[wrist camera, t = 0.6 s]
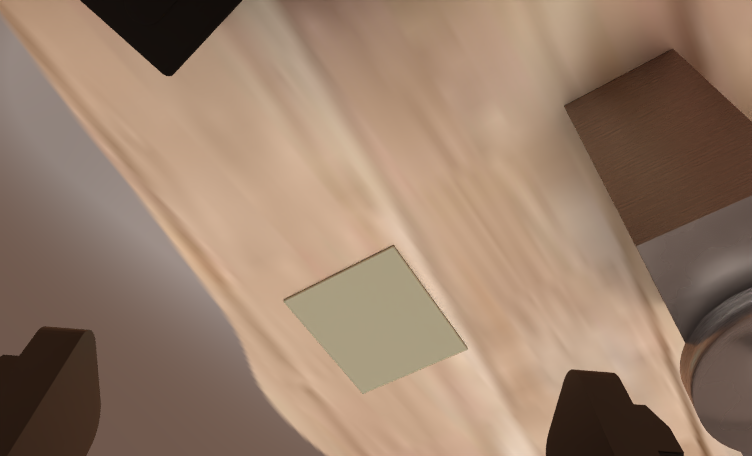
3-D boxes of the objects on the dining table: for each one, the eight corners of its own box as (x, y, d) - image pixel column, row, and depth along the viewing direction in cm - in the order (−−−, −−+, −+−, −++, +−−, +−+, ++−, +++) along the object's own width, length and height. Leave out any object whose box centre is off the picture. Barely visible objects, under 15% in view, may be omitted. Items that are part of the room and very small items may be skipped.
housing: (689, 40, 29) (863, 187, 18) (775, 258, 35) (948, 474, 23) (549, 113, 31) (628, 286, 20) (652, 309, 37) (758, 529, 25)
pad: (393, 245, 35) (393, 246, 35) (467, 347, 39) (467, 349, 38) (284, 299, 37) (283, 301, 37) (363, 392, 41) (362, 394, 41)
